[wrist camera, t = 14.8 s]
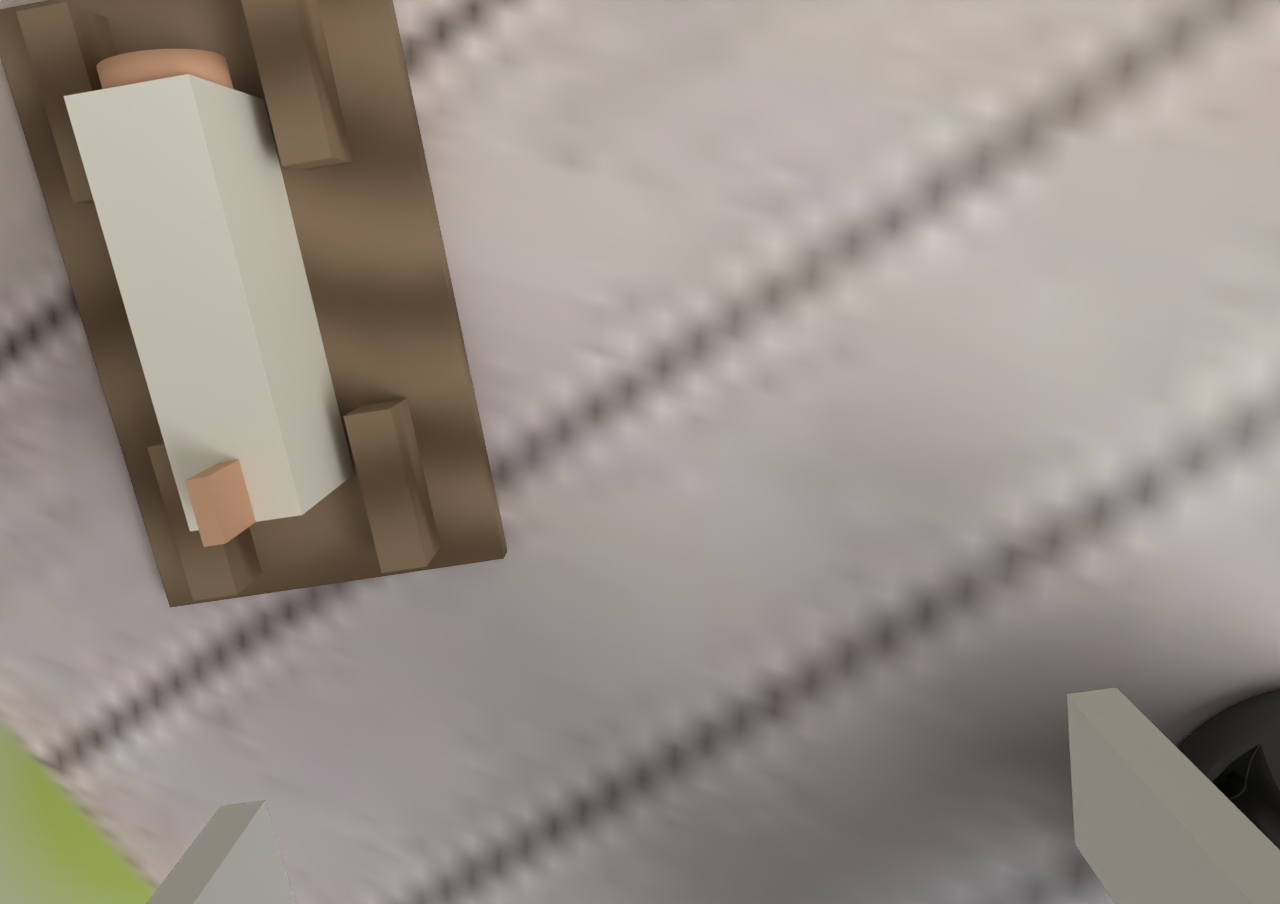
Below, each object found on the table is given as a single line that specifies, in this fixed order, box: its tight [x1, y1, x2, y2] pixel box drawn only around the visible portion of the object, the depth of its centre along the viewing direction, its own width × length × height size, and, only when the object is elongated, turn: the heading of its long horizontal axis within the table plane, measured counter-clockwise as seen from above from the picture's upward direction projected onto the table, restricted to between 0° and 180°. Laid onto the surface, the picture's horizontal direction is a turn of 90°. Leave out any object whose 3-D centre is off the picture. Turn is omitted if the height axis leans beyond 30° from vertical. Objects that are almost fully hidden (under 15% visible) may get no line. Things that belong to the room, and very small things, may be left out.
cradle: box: [0, 0, 507, 607], centre depth 38 cm, size 26×16×4 cm, turn 9°
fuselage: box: [63, 49, 354, 547], centre depth 34 cm, size 17×4×8 cm, turn 9°
